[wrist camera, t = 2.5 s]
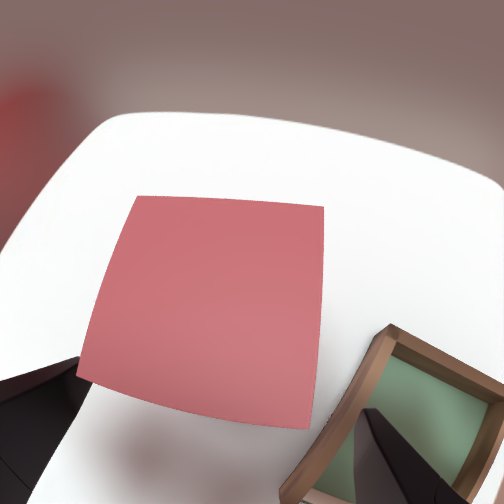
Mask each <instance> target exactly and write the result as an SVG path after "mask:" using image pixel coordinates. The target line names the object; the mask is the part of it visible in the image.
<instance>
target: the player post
mask: <svg viewBox="0 0 504 504" xmlns="http://www.w3.org/2000/svg"><path fill="white" fill-rule="evenodd" d="M323 253H324V207H322V206H312V205H301V204H290V203H278V202H265V201H251V200H236V199H218V198H197V197H170V196H137V197H136V200H135V202H134V204H133V206H132V208H131V211H130V213H129V215H128V217H127V220H126V222H125V224H124V227H123V229H122V232H121V234H120V236H119V239H118V241H117V244H116V246H115V249H114V251H113V254H112V257H111V259H110V262H109V265H108V267H107V270H106V273H105V276H104V279H103V281H102V284H101V287H100V290H99V293H98V296H97V299H96V302H95V306H94V309H93V312H92V315H91V319H90V322H89V326H88V329H87V333H86V336H85V340H84V344H83V348H82V352H81V356H80V360H79V364H78V369H77V373H76V376H78V377H80V378H83V379H85V380H88V381H90V382H93V383H95V384H98V385H100V386H103V387H106V388H108V389H111V390H114V391H117V392H120V393H123V394H125V395H128V396H132V397H135V398H138V399H141V400H144V401H148V402H151V403H154V404H158V405H161V406H165V407H169V408H173V409H177V410H181V411H185V412H189V413H193V414H198V415H203V416H207V417H212V418H218V419H223V420H229V421H235V422H241V423H248V424H255V425H263V426H272V427H282V428H294V429H309V427H310V420H311V413H312V405H313V397H314V388H315V379H316V369H317V359H318V348H319V335H320V321H321V304H322V284H323Z"/></svg>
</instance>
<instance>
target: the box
mask: <svg viewBox="0 0 504 504" xmlns="http://www.w3.org/2000/svg"><path fill="white" fill-rule="evenodd" d="M364 407H375V408H377V409H378V410H379V411H380V412H381V413H382V414H383V415H384V416H385V418H386V419H387V420H388V421H389V422H390V423H391V424H392V425H393V426H394V427H395V428H396V429H397V430H398V432H399V433H400V434H401V435H402V436H403V437H404V438H405V439H406V440H407V441H408V442H409V443H410V444H411V445H412V446H413V448H414V449H415V450H416V451H417V452H418V453H419V454H420V455H421V456H422V457H423V458H424V459H425V460H426V461H427V462H428V463H429V464H430V466H431V467H432V468H433V469H434V470H435V471H436V472H437V473H438V474H439V475H440V478H441V477H442V478H443V479H444V480H445V481H446V482H447V483H448V484H449V485H450V486H451V487H452V488H453V489H454V490H455V491H456V492H457V493H458V494H459V495H460V496H462V497H463V498H464V499H465V500H466V501H468V502H469V503H470V504H471V503H472V502H473V500H474V498H475V497H476V495H477V493H478V491H479V489H480V488H481V486H482V484H483V482H484V480H485V478H486V476H487V474H488V472H489V470H490V468H491V466H492V464H493V462H494V460H495V457H496V455H497V453H498V450H499V448H500V446H501V443H502V441H503V438H504V384H502V383H500V382H498V381H497V380H495V379H493V378H491V377H489V376H487V375H485V374H484V373H482V372H480V371H478V370H476V369H474V368H473V367H471V366H469V365H467V364H465V363H463V362H461V361H460V360H458V359H456V358H454V357H452V356H450V355H448V354H447V353H445V352H443V351H441V350H439V349H437V348H435V347H434V346H432V345H430V344H428V343H426V342H424V341H422V340H421V339H419V338H417V337H415V336H413V335H411V334H409V333H408V332H406V331H404V330H402V329H400V328H398V327H396V326H395V325H393V324H389V325H388V326H387V327H385V328H384V329H383V330H382V331H380V332H379V333H378V334H376V335H375V336H374V338H373V340H372V342H371V344H370V346H369V348H368V350H367V352H366V354H365V356H364V358H363V360H362V362H361V364H360V366H359V368H358V370H357V372H356V374H355V376H354V378H353V379H352V381H351V383H350V385H349V387H348V389H347V390H346V392H345V394H344V396H343V397H342V399H341V401H340V402H339V404H338V406H337V408H336V409H335V411H334V412H333V414H332V416H331V417H330V419H329V421H328V422H327V424H326V425H325V427H324V428H323V430H322V431H321V433H320V435H319V436H318V438H317V439H316V441H315V442H314V443H313V445H312V446H311V448H310V449H309V451H308V452H307V454H306V455H305V456H304V458H303V459H302V461H301V462H300V463H299V465H298V466H297V467H296V469H295V470H294V471H293V473H292V474H291V475H290V476H289V478H288V479H287V480H286V482H285V483H284V484H283V485H282V487H281V488H280V489H279V496H280V504H299V503H300V502H303V503H306V504H356V500H355V487H354V476H353V457H354V426H355V423H356V421H357V419H358V416H359V414H360V412H361V410H362V408H364Z"/></svg>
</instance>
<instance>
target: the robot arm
mask: <svg viewBox="0 0 504 504" xmlns="http://www.w3.org/2000/svg"><path fill="white" fill-rule="evenodd" d="M79 360H80V357H79V356H77V357H73V358H71V359H68V360H65V361H62V362H59V363H56V364H53V365H50V366H47V367H44V368H40V369H37V370H34V371H31V372H28V373H25V374H22V375H18V376H15V377H12V378H9V379H5V380H2V381H0V504H26V503H27V501H28V500H29V498H30V496H31V494H32V491H33V490H34V488H35V486H36V484H37V482H38V480H39V479H40V477H41V475H42V473H43V471H44V470H45V468H46V466H47V464H48V463H49V461H50V459H51V457H52V456H53V454H54V452H55V450H56V449H57V447H58V445H59V444H60V442H61V440H62V439H63V437H64V435H65V434H66V432H67V430H68V429H69V427H70V426H71V424H72V422H73V421H74V419H75V417H76V416H77V414H78V412H79V410H80V408H81V406H82V404H83V402H84V400H85V398H86V396H87V394H88V392H89V390H90V388H91V386H92V384H93V382H90V381H88V380H85V379H83V378H80V377H78V376H76V373H77V369H78V364H79ZM353 476H354V487H355V500H356V504H470V503H469V502H468V501H466V500H465V499H464V498H463V497H462V496H460V495H459V494H458V493H457V492H456V491H455V490H454V489H453V488H452V487H451V486H450V485H449V484H448V483H447V482H446V481H445V480H444V479H443V478H442V477H441V478H440V475H439V474H438V473H437V472H436V471H435V470H434V469H433V468H432V467H431V466H430V464H429V463H428V462H427V461H426V460H425V459H424V458H423V457H422V456H421V455H420V454H419V453H418V452H417V451H416V450H415V449H414V448H413V446H412V445H411V444H410V443H409V442H408V441H407V440H406V439H405V438H404V437H403V436H402V435H401V434H400V433H399V432H398V430H397V429H396V428H395V427H394V426H393V425H392V424H391V423H390V422H389V421H388V420H387V419H386V418H385V416H384V415H383V414H382V413H381V412H380V411H379V410H378V409H377V408H375V407H364V408H362V410H361V412H360V414H359V416H358V419H357V421H356V423H355V426H354V457H353Z"/></svg>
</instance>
